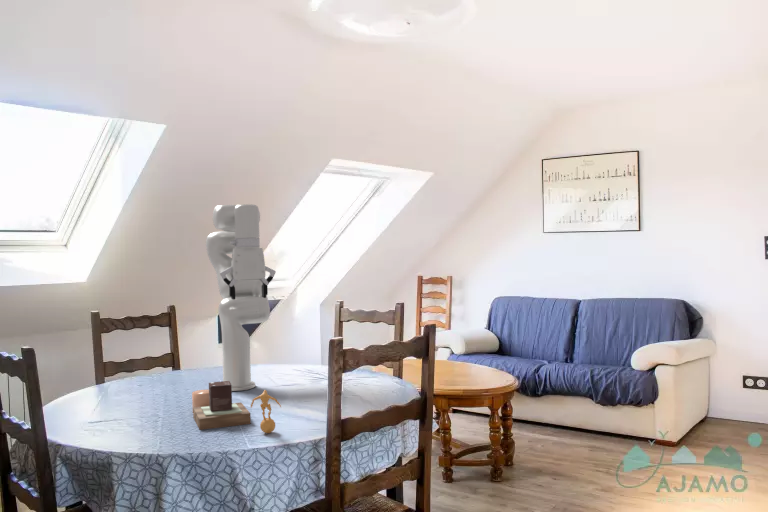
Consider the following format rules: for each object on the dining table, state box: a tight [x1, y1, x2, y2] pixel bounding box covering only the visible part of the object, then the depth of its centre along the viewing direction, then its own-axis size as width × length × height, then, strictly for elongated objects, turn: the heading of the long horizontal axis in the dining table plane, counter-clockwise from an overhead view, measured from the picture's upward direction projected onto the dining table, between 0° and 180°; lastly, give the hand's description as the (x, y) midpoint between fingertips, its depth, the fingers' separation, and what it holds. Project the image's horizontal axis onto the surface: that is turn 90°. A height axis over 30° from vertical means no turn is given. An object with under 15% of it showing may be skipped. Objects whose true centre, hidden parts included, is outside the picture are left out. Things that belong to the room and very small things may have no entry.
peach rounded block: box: [191, 388, 209, 411], centre depth 209 cm, size 7×7×6 cm
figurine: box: [250, 389, 282, 434], centre depth 184 cm, size 8×6×12 cm
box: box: [208, 380, 233, 412], centre depth 198 cm, size 6×6×7 cm
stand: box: [192, 401, 252, 431], centre depth 198 cm, size 14×14×3 cm
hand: (248, 298), depth 218 cm, fingers open, 9 cm apart
